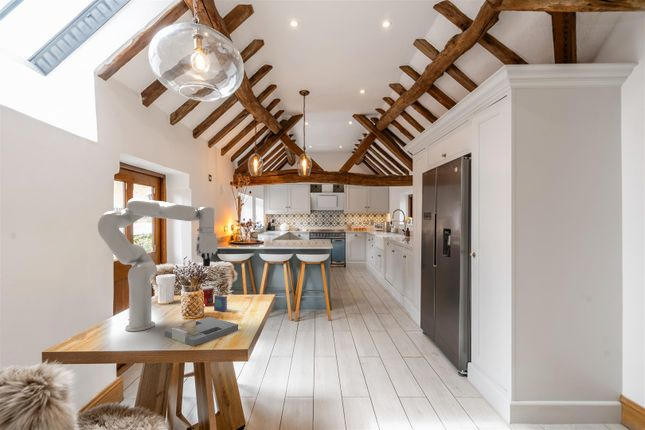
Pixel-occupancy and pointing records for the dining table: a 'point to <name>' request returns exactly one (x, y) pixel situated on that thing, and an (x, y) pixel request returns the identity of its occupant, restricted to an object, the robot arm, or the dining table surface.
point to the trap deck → (202, 331)
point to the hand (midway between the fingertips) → (206, 266)
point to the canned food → (208, 295)
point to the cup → (165, 288)
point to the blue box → (220, 302)
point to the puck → (189, 326)
